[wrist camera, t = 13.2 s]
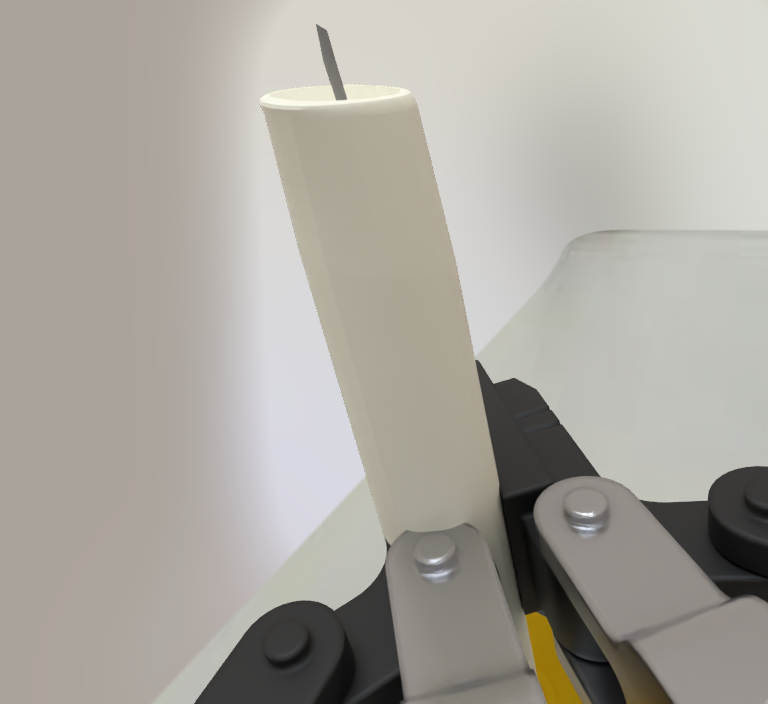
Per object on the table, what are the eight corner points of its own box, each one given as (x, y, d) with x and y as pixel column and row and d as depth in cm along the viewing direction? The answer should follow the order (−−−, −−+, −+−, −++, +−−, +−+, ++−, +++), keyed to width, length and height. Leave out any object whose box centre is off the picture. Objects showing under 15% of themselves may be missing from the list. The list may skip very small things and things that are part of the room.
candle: (593, 706, 16) (501, -35, 8) (729, 990, 11) (785, -80, 4) (381, 773, 16) (95, 72, 8) (431, 1088, 11) (-105, 155, 4)
